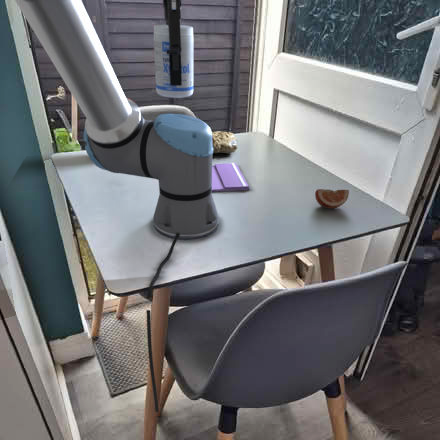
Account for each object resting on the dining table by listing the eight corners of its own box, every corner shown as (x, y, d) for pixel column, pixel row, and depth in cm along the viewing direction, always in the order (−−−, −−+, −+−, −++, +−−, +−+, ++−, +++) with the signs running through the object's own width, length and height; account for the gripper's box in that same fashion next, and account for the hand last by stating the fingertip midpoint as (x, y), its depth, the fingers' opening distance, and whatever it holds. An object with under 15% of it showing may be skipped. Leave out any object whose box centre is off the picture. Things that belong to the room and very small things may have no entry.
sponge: (228, 149, 138) (173, 139, 132) (235, 128, 133) (178, 117, 127) (235, 169, 130) (177, 160, 124) (242, 148, 124) (181, 136, 118)
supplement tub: (165, 100, 95) (162, 27, 86) (150, 92, 102) (145, 24, 92) (200, 96, 99) (200, 27, 90) (184, 89, 106) (182, 24, 96)
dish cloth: (249, 190, 109) (249, 186, 108) (203, 192, 107) (203, 187, 106) (236, 166, 122) (236, 162, 122) (195, 167, 120) (195, 164, 120)
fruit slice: (340, 202, 104) (345, 184, 101) (349, 213, 99) (353, 195, 96) (310, 202, 104) (313, 184, 101) (316, 213, 98) (320, 195, 95)
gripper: (192, -35, 77) (193, 90, 90) (183, -32, 94) (185, 73, 108) (154, -37, 76) (161, 90, 89) (152, -34, 93) (158, 73, 107)
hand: (174, 81), depth 99 cm, fingers closed on supplement tub, 10 cm apart
